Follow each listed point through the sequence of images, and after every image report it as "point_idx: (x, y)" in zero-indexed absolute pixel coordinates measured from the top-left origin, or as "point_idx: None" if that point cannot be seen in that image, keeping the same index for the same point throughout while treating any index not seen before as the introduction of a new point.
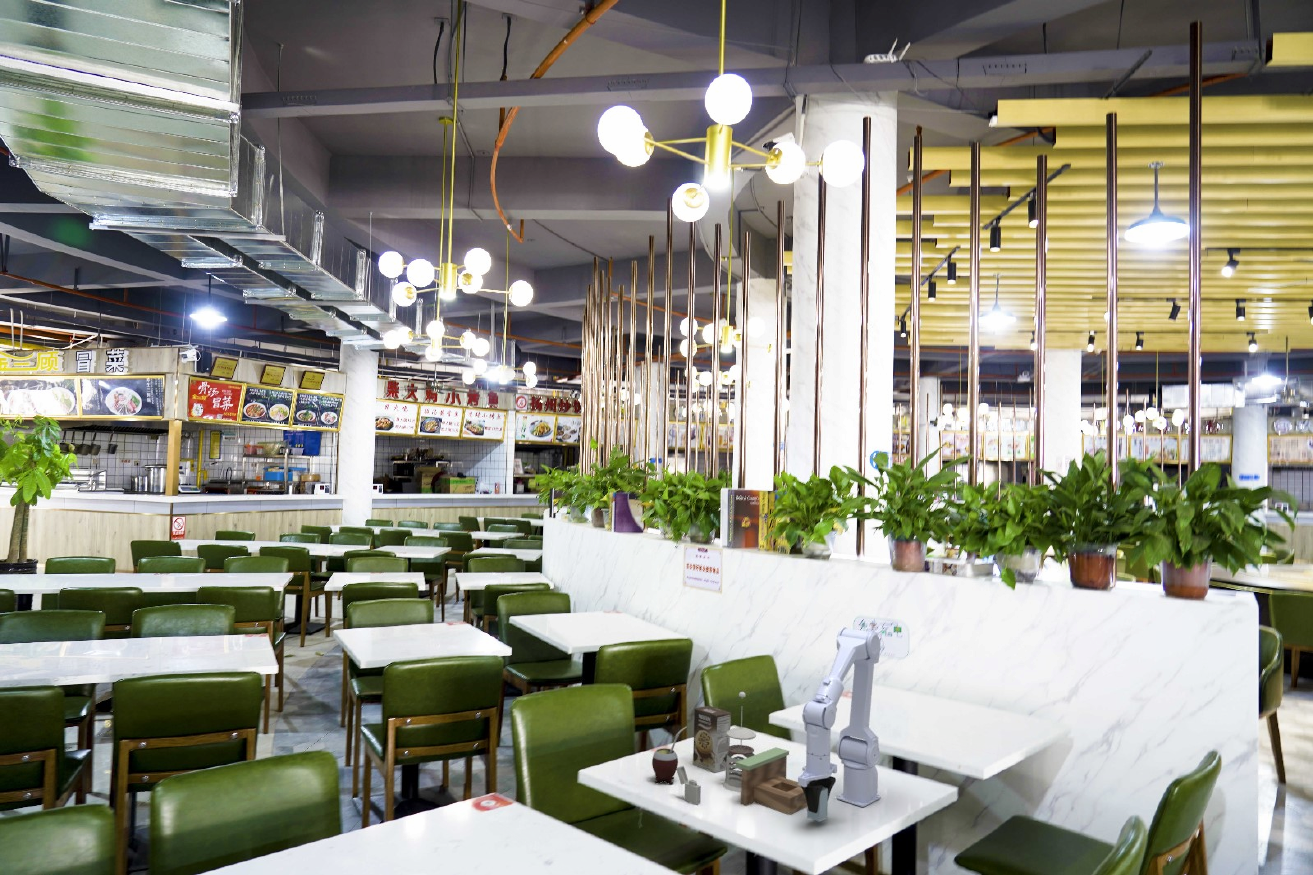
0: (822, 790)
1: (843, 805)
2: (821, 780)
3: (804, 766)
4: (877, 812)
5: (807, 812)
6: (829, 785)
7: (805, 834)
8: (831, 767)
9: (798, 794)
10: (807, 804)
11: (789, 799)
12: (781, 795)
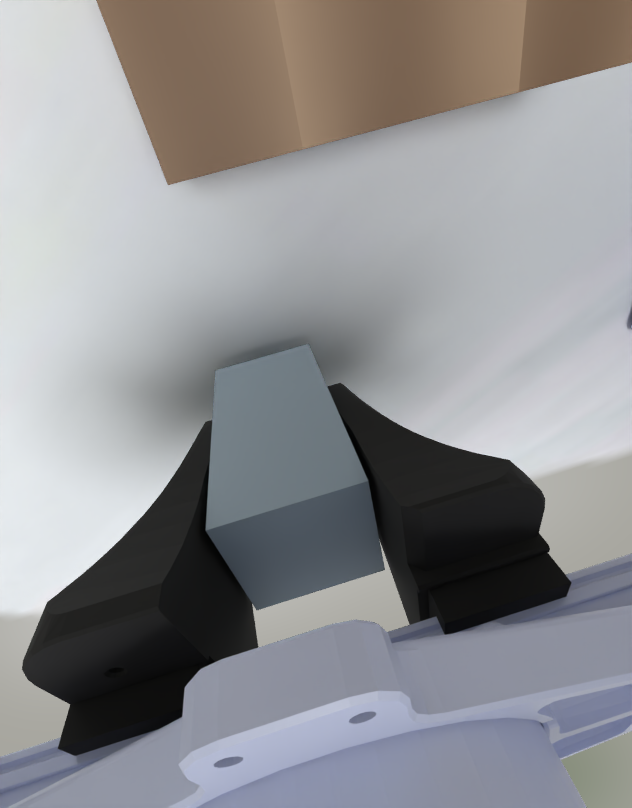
0: (301, 594)
1: (607, 246)
2: (406, 575)
3: (301, 726)
4: (609, 392)
5: (215, 388)
6: (402, 601)
7: (116, 454)
8: (629, 727)
9: (333, 140)
10: (192, 448)
11: (165, 174)
12: (102, 13)
